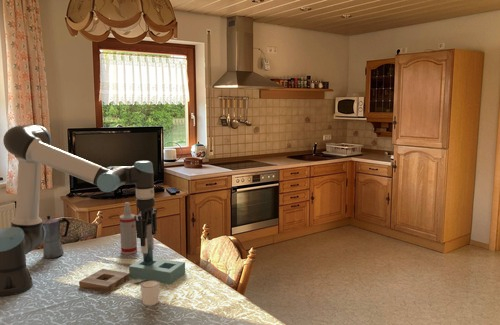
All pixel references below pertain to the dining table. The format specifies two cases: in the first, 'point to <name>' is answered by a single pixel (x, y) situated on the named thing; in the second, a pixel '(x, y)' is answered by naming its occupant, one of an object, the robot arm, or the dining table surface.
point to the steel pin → (148, 244)
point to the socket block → (100, 284)
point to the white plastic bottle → (128, 231)
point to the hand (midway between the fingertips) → (147, 250)
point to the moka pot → (53, 237)
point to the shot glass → (150, 292)
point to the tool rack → (157, 270)
